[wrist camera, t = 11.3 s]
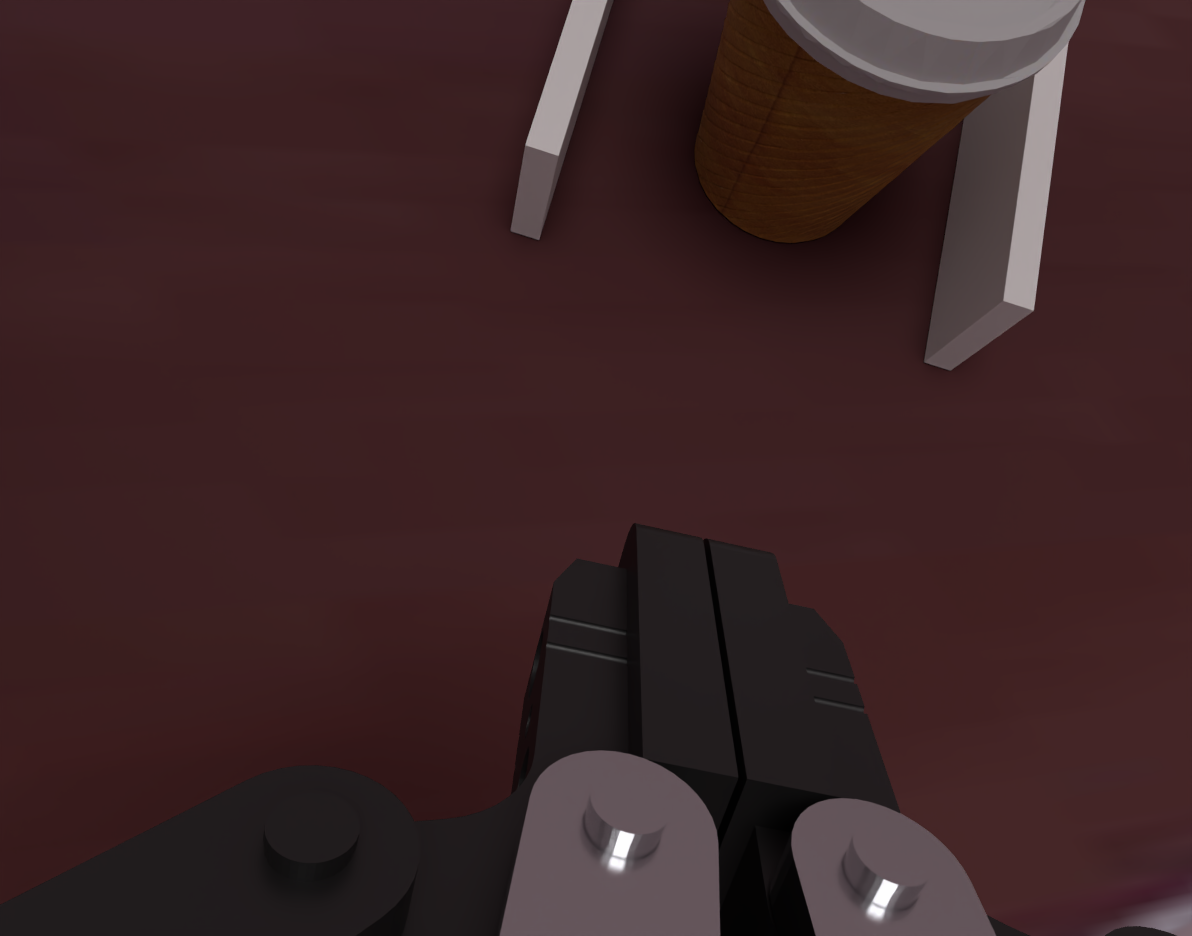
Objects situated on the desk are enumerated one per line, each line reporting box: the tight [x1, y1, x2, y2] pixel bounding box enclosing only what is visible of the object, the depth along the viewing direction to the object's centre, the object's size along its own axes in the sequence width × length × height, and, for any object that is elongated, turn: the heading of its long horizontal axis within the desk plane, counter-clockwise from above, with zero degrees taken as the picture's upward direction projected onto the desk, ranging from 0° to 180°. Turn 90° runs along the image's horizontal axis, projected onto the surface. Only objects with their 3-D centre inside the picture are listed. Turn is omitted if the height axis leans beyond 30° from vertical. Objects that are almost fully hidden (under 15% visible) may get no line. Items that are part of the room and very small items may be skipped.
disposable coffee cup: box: [694, 0, 1085, 243], centre depth 30 cm, size 10×10×12 cm
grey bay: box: [511, 0, 1068, 371], centre depth 34 cm, size 16×15×5 cm
